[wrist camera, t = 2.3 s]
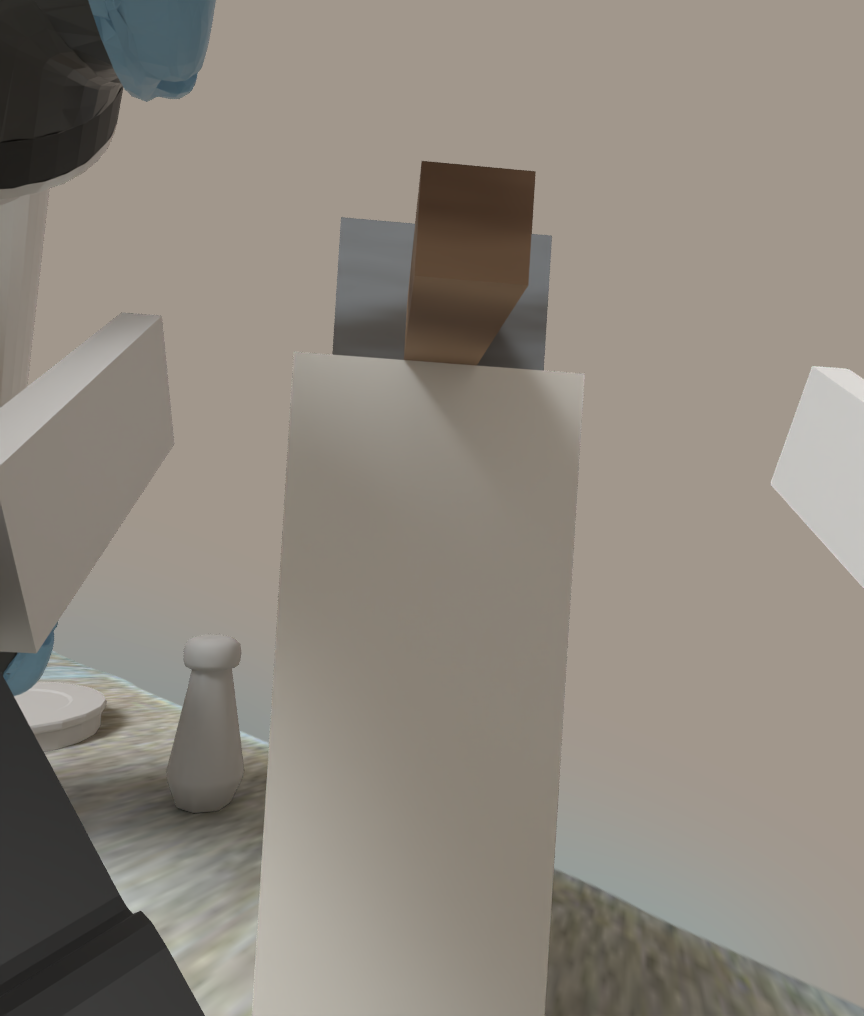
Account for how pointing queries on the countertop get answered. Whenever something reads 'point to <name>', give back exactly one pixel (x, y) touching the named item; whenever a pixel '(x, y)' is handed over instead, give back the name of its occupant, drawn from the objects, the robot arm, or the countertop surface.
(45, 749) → the lid
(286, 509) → the pedestal
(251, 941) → the countertop surface
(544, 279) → the panel with wooden post
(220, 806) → the salt shaker
